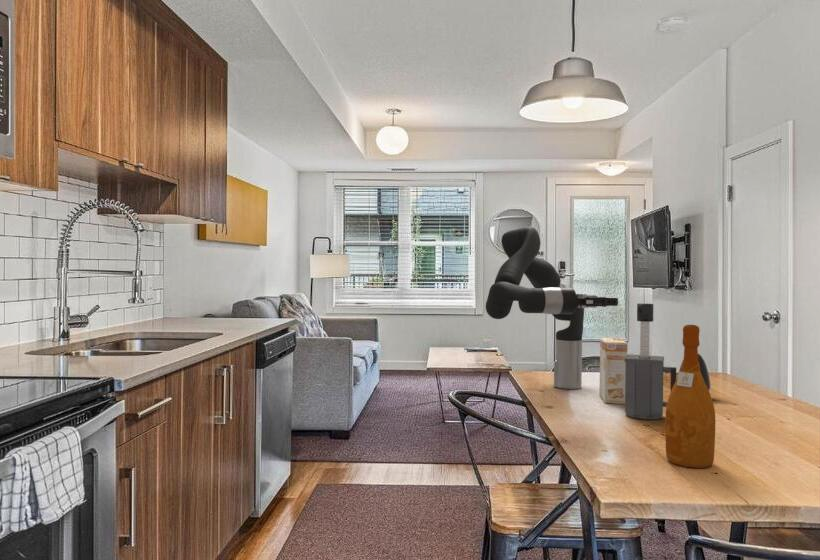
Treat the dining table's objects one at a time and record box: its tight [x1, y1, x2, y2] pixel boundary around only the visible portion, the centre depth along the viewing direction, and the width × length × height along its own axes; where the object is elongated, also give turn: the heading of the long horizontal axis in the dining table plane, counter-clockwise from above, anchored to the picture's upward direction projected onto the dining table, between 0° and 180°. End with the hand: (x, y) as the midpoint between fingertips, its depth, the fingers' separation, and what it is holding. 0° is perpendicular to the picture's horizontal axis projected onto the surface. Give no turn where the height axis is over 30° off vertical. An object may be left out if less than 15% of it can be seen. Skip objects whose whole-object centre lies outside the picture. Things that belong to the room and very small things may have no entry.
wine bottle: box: [664, 324, 716, 469], centre depth 131 cm, size 10×10×30 cm
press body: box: [624, 353, 677, 421], centre depth 173 cm, size 13×10×17 cm
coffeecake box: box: [598, 337, 629, 405], centre depth 198 cm, size 15×7×20 cm, turn 168°
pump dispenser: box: [677, 353, 711, 391], centre depth 201 cm, size 10×10×15 cm
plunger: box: [636, 302, 655, 358], centre depth 174 cm, size 8×8×23 cm
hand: (609, 301), depth 172 cm, fingers open, 8 cm apart
